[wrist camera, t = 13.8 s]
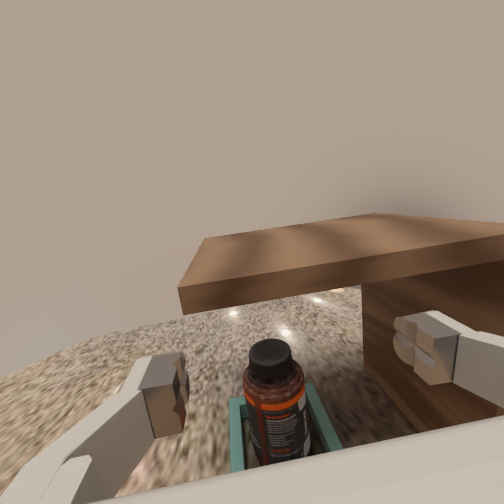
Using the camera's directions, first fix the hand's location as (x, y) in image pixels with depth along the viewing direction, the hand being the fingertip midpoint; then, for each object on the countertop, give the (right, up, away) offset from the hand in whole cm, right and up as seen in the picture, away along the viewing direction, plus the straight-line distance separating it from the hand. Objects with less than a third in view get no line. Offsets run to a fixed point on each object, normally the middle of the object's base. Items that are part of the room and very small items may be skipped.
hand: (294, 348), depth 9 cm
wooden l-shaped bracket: (+7, -16, +16) cm, 23 cm away
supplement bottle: (+2, -17, +16) cm, 23 cm away
